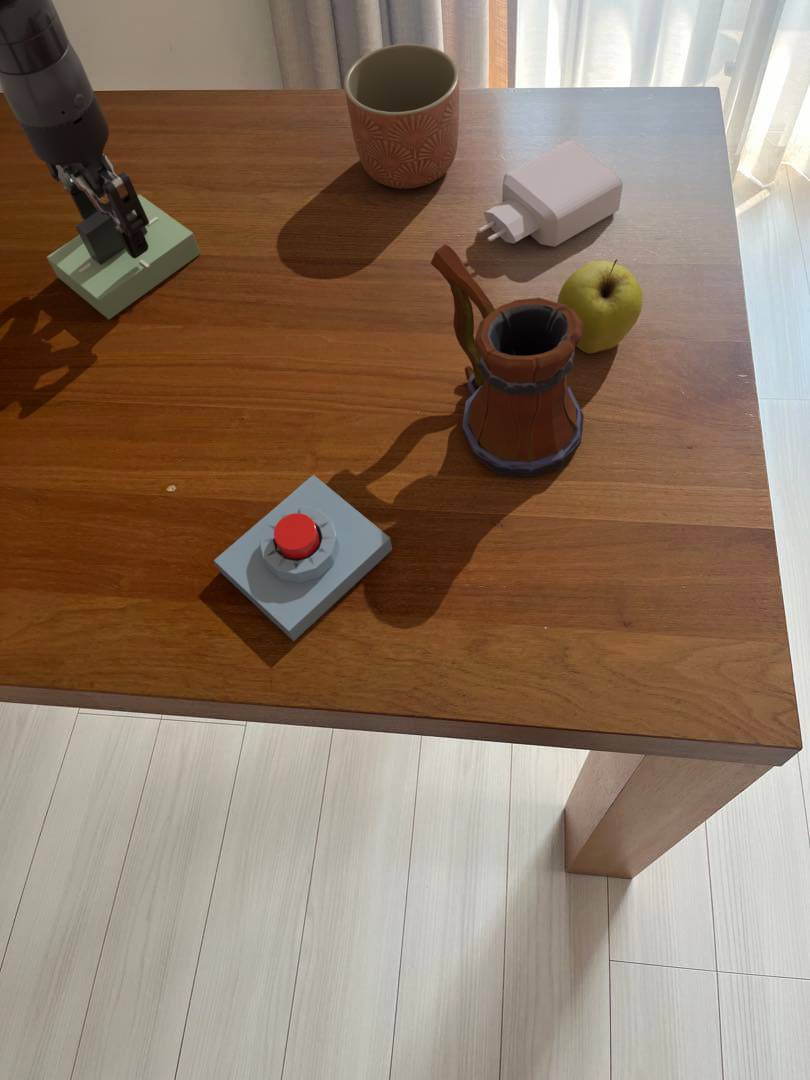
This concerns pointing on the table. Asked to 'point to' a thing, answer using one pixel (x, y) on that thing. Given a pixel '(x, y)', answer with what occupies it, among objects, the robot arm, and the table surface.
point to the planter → (404, 113)
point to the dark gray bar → (101, 237)
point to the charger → (554, 197)
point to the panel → (126, 264)
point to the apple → (602, 303)
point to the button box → (304, 559)
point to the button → (296, 536)
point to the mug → (515, 376)
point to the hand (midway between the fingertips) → (116, 235)
